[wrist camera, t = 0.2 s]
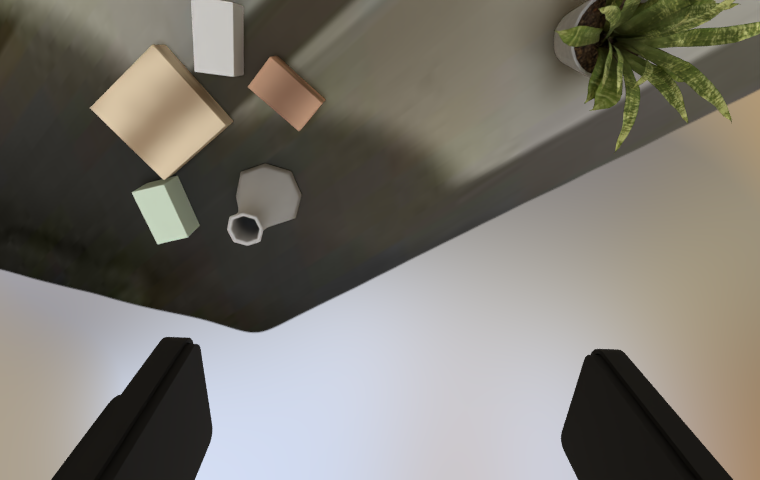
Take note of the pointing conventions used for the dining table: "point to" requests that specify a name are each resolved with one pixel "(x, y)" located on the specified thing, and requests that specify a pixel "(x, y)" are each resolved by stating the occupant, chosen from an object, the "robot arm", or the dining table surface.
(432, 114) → the dining table surface
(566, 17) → the house plant
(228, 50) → the grey brick
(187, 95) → the oak block
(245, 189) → the flask
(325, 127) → the dining table surface
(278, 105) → the cherry brick
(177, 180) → the sage brick
